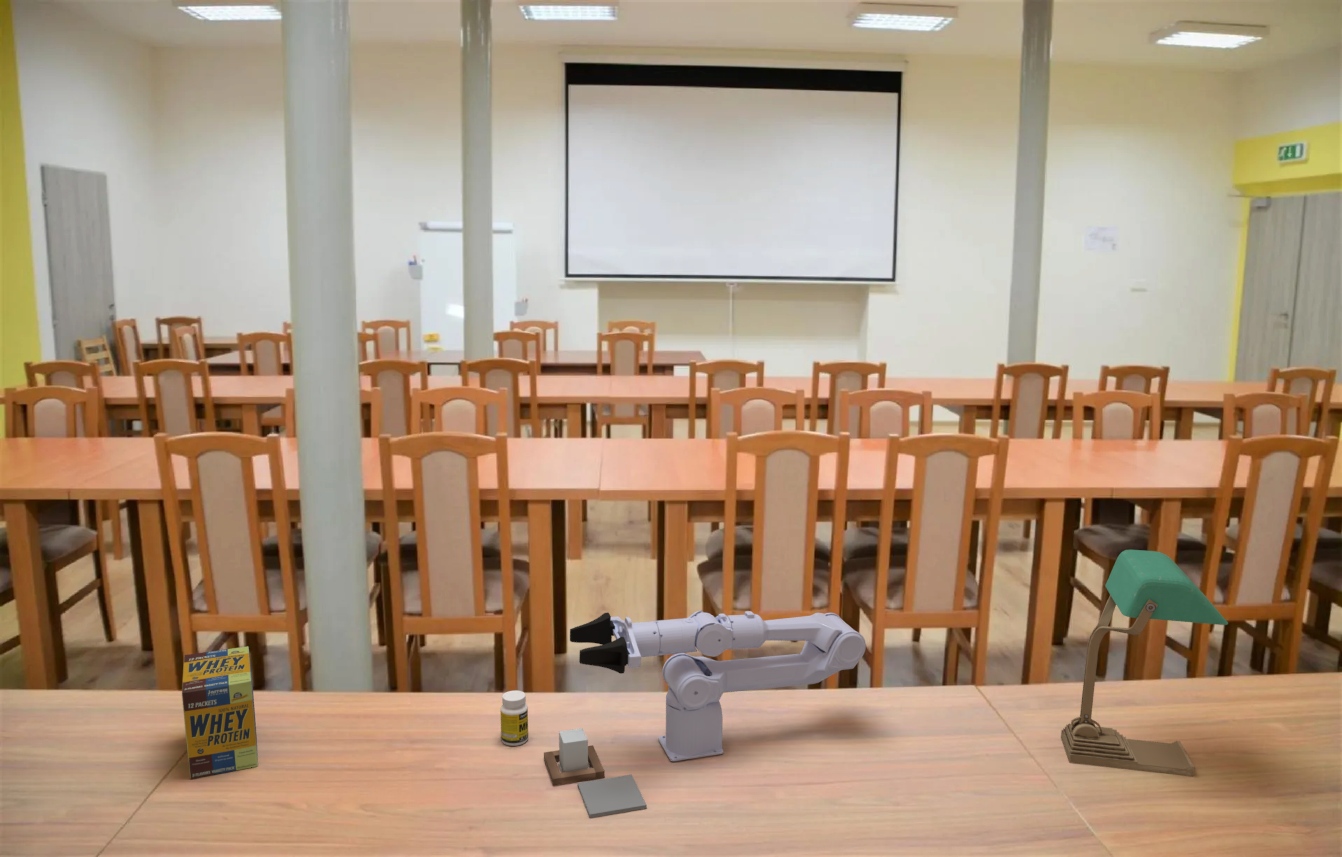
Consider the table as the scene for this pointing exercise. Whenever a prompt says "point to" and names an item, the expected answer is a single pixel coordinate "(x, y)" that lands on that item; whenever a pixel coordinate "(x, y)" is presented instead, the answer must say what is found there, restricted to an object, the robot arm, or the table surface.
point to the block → (573, 750)
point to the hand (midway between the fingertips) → (574, 645)
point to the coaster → (611, 796)
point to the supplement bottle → (514, 718)
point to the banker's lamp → (1142, 593)
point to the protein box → (219, 712)
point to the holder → (577, 775)
